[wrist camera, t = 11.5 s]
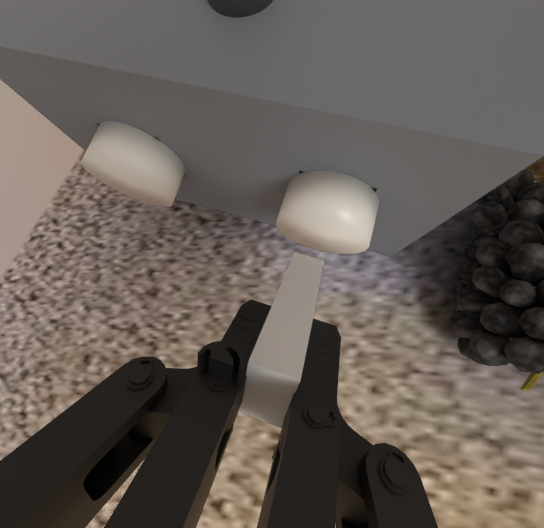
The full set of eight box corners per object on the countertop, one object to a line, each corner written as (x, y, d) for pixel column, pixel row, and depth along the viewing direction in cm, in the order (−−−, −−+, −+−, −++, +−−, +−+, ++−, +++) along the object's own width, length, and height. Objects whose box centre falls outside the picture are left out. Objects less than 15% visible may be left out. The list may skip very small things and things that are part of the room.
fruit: (577, 90, 13) (608, 415, 10) (680, 145, 15) (737, 438, 11) (433, 176, 21) (422, 368, 18) (510, 205, 23) (513, 385, 20)
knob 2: (380, 160, 18) (415, 97, 13) (355, 260, 17) (384, 232, 12) (307, 144, 19) (314, 78, 14) (278, 239, 17) (273, 204, 12)
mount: (410, 170, 23) (563, -26, 10) (391, 256, 21) (543, 155, 8) (160, 115, 26) (34, -88, 13) (128, 186, 24) (-51, 36, 11)
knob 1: (220, 125, 20) (195, 56, 15) (185, 213, 18) (144, 171, 13) (158, 111, 20) (114, 41, 15) (119, 195, 19) (57, 149, 14)
